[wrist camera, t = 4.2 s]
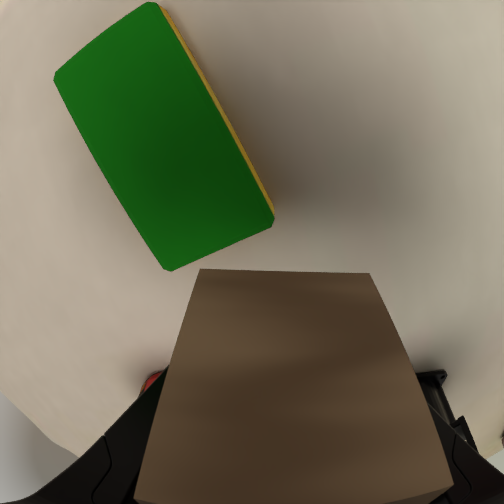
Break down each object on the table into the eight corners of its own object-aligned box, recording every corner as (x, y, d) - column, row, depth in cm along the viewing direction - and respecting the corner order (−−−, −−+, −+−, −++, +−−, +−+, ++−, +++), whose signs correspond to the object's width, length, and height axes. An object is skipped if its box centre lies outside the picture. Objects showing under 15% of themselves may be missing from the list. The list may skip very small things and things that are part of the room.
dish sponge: (176, 255, 20) (165, 274, 18) (72, 75, 15) (50, 76, 13) (276, 209, 19) (277, 225, 17) (166, 8, 13) (152, -3, 11)
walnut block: (369, 273, 8) (453, 484, 3) (339, 381, 10) (364, 541, 5) (200, 268, 8) (132, 497, 3) (210, 379, 10) (186, 544, 5)
